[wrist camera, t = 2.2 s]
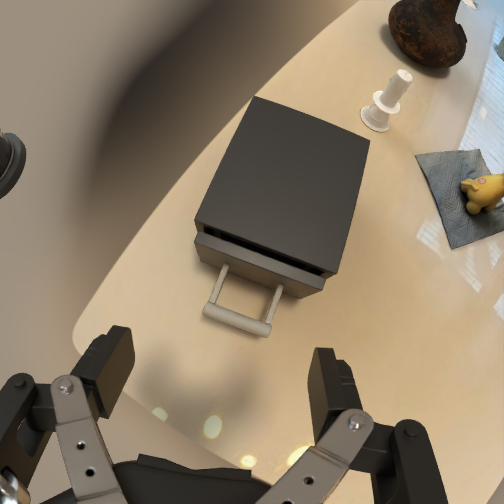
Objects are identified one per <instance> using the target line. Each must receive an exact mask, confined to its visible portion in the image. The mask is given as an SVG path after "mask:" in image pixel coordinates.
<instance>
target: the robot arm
mask: <svg viewBox="0 0 504 504" xmlns="http://www.w3.org/2000/svg"><path fill="white" fill-rule="evenodd" d="M14 155H15V148H14V144H13V143H12V142H11V140H9V139H8V138H7V137H6V136H5V135H4V134H3V133H2V132H1V129H0V182H1V181H2V180H3V179H4V178H5V176H6V175H7V173H8V172H9V170H10V168H11V166H12V163H13V160H14ZM134 363H135V352H134V346H133V340H132V333H131V329H130V328H128V327H122V326H116V325H113V326H112V327H111V329H110V330H109V332H108V333H107V335H104V334H102V335H100V336H99V337H97V338H96V339H94V340H93V341H92V343H91V344H90V346H89V347H88V349H87V350H86V351H85V353H84V355H83V356H82V357H81V358H80V360H79V362H78V363H77V364H76V366H75V367H74V369H73V370H72V372H71V373H70V375H63V376H60V377H58V378H56V379H55V380H54V381H53V382H52V384H37V383H35V382H34V379H33V378H32V376H31V375H29V374H26V373H18V374H15V375H13V376H12V377H11V378H9V379H8V381H7V382H6V384H5V385H4V386H3V388H2V389H1V391H0V504H30V501H31V498H30V494H29V492H28V490H27V488H28V486H29V483H30V481H31V478H32V476H33V474H34V471H35V469H36V467H37V464H38V462H39V460H40V457H41V456H42V454H43V451H44V449H45V447H46V445H47V443H48V441H49V439H50V436H51V434H52V432H57V437H58V441H59V445H60V448H61V452H62V456H63V459H64V463H65V466H66V470H67V473H68V476H69V479H70V482H71V485H72V488H70V489H68V490H66V491H64V492H62V493H61V494H58V495H56V496H54V497H53V498H50V499H48V500H46V501H44V502H42V503H40V504H324V503H325V502H326V500H327V499H328V498H329V497H330V495H331V494H332V493H333V491H334V490H335V489H336V487H337V486H338V485H339V483H340V482H341V480H342V479H343V478H344V476H345V475H346V473H347V472H348V471H349V469H351V470H356V471H361V472H366V473H370V475H371V482H372V489H373V496H374V504H448V500H447V496H446V493H445V489H444V485H443V482H442V479H441V475H440V472H439V468H438V465H437V462H436V459H435V455H434V452H433V449H432V446H431V443H430V440H429V437H428V434H427V431H426V429H425V427H424V426H423V425H422V424H421V423H419V422H417V421H415V420H411V419H406V420H402V421H400V422H398V423H397V424H396V426H395V427H393V426H388V425H383V424H378V423H376V422H374V421H373V419H372V417H371V416H370V415H369V414H368V413H367V412H365V411H363V408H362V404H361V401H360V397H359V394H358V391H357V387H356V385H355V380H354V378H353V374H352V371H351V368H350V366H349V365H348V364H347V363H346V362H345V361H344V360H336V357H335V353H334V350H333V348H318V347H316V348H315V350H314V353H313V357H312V362H311V366H310V370H309V374H308V393H309V401H310V409H311V417H312V425H313V433H314V441H315V446H314V447H313V446H310V447H309V448H308V449H307V450H306V451H305V452H304V453H303V455H302V456H301V457H300V458H299V459H298V460H297V461H296V462H295V463H294V464H293V466H292V467H291V468H290V469H289V470H288V471H287V472H286V473H285V474H284V475H283V476H282V477H281V478H280V479H279V480H278V481H277V482H276V483H275V484H274V485H273V486H271V485H270V484H268V483H266V482H264V481H261V480H259V479H256V478H253V477H251V470H245V469H233V468H213V469H199V470H193V469H189V468H187V467H184V466H181V465H179V464H176V463H173V462H171V461H169V460H167V459H163V458H158V457H153V456H148V455H143V454H139V456H138V459H137V460H133V461H125V462H120V463H117V464H113V462H112V460H111V458H110V455H109V453H108V450H107V448H106V446H105V443H104V440H103V438H102V435H101V432H100V430H99V427H98V424H97V421H98V419H99V417H102V418H106V419H109V417H110V415H111V413H112V410H113V408H114V406H115V404H116V402H117V400H118V398H119V396H120V394H121V392H122V389H123V387H124V385H125V383H126V381H127V379H128V377H129V375H130V373H131V371H132V369H133V367H134ZM22 421H23V422H22ZM20 424H21V425H20ZM19 426H20V427H19ZM18 427H19V429H18Z"/></svg>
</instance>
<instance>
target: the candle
mask: <svg viewBox="0 0 504 504" xmlns="http://www.w3.org/2000/svg"><path fill="white" fill-rule="evenodd" d="M412 81H413V79H412V77H411V75H410V74H409V72H408V71H406V70H402V69H400V70H398V71H396V73H395V74H394V75H393V77H392V78H390V82H389V84H388V85H387V87H386V89H385V90H384V91H376V92H375V93H374V94H373V100H374V102H375V104H373V105H370V106H365V107H363V108H362V110H361V118H362V120H363V122H364V123H365V124H366V125H367V126H368V127H369V128H371V129H372V130H374V131H378V132H384V131H386V130H388V129H389V127H390V121H389V114H397V113H398V112H399V111H400V104H399V102H398V100H399V99H400V97H401V96H402V95H403V93H405V92H406V90H407V88H408V87H409V85H410V83H411V82H412Z"/></svg>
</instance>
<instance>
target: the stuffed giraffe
mask: <svg viewBox="0 0 504 504" xmlns="http://www.w3.org/2000/svg"><path fill="white" fill-rule="evenodd" d="M415 156H416V158H417V161H418V162H419V164H420V166H421V167H422V169H423V171H424V173H425V174H426V176H427V179H428V181H429V185H430V188H431V190H432V192H433V194H434V197H435V199H436V201H437V204H438V208H439V211H440V213H441V217H442V219H443V225H444V227H445V230H446V232H447V235H448V239H449V242H450V245H451V248H452V249H454V248H457V247H460V246H463V245H465V244H468V243H471V242H474V241H476V240H479V239H482V238H484V237H487V236H490V235H492V234H495V233H498V232H501V231H503V230H504V202H503V201H502V199H501V198H503V197H504V173H503V174H494V175H491V173H490V170H489V169H488V167H487V166H486V163H485V161H484V159H483V157H482V155H481V152H480V149H475V150H471V151H461V150H459V151H445V152H436V153H428V154H419V155H415Z"/></svg>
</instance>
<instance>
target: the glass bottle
mask: <svg viewBox="0 0 504 504" xmlns="http://www.w3.org/2000/svg"><path fill="white" fill-rule="evenodd" d="M460 1H461V0H401V1H399V2H397V3H396V4H395V5H394V6H393V7H392V8H391V10H390V13H389V19H388V21H389V28H390V31H391V34H392V36H393V38H394V40H395V41H396V43H397V44H398V45H399V47H400V48H401V49H402V50H403V51H404V52H405V53H406V54H408V55H409V56H410V57H411V58H413V59H414V60H416V61H418V62H420V63H422V64H424V65H427V66H430V67H434V68H447V67H451V66H453V65H455V64H457V63H458V62H459V61H460V60H461V59H462V58H463V56H464V53H465V49H466V43H467V38H466V35H465V33H464V30H463V28H462V26H461V24H457V23H456V22H455V16H456V12H457V9H458V6H459V3H460Z"/></svg>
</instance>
